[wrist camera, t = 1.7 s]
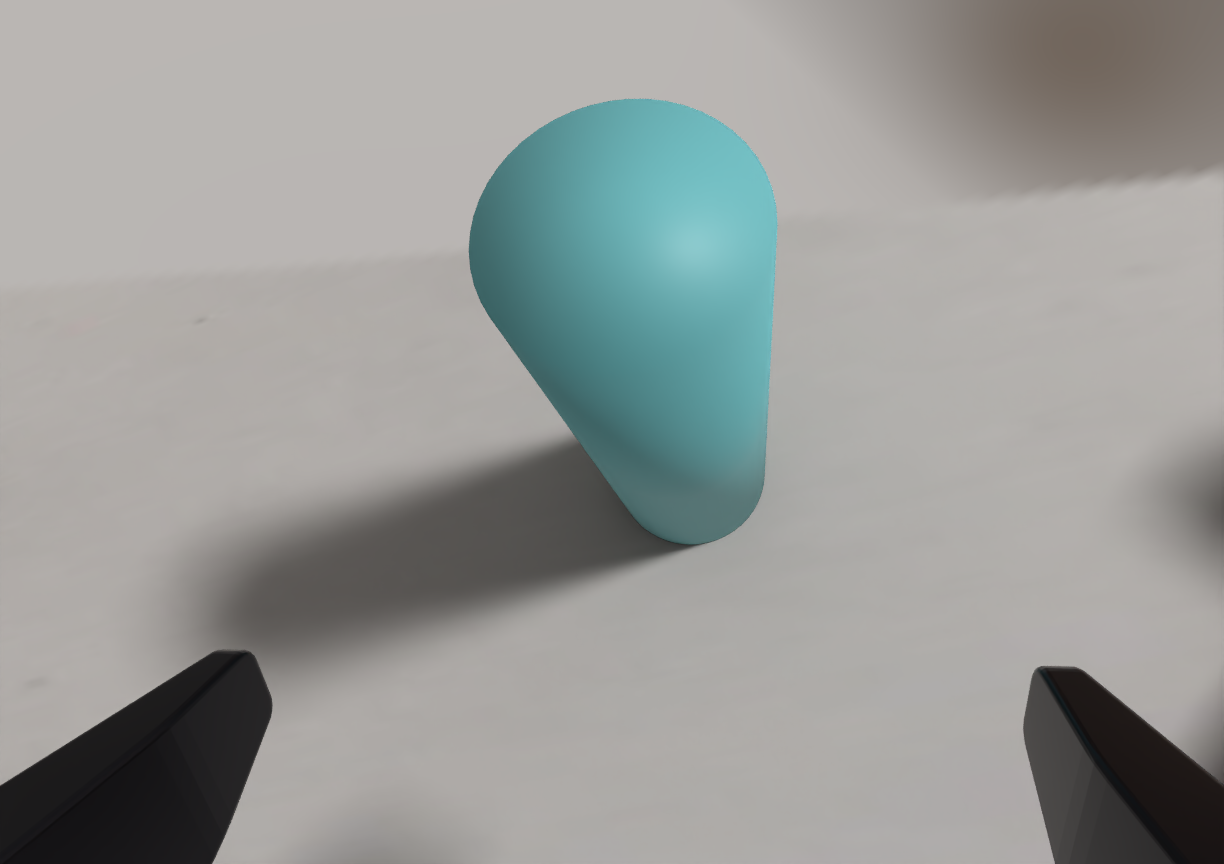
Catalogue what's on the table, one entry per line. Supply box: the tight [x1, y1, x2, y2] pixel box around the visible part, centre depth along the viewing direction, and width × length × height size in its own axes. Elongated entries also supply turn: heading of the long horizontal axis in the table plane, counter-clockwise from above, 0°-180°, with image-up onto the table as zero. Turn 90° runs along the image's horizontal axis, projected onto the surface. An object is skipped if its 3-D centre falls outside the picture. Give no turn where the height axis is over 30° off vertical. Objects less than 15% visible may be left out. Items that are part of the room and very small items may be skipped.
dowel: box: [469, 99, 777, 544], centre depth 16 cm, size 4×4×12 cm
